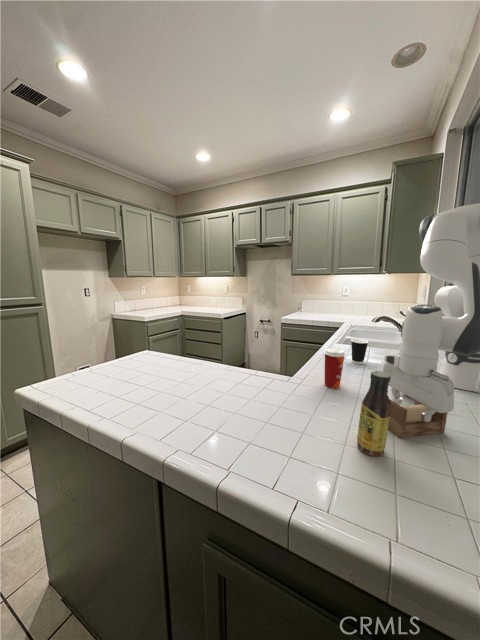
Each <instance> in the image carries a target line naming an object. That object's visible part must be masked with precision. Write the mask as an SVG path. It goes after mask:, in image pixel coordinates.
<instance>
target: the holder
mask: <svg viewBox="0 0 480 640" xmlns="http://www.w3.org/2000/svg"><path fill="white" fill-rule="evenodd" d="M390 401H391V409H390V419H389V426H388V431H389V432H390V433H391V434H393V435H395V436H396V437H397V438H398V439H400V440H401V439H408V438H414V437H421V436H429V435H435V434H444V433H445V431H446V425H447V417H448V412H447V413H439V412H437V411H436V412H435V413H434V414H433V415H432V416H431V421H430V422H423V423H415V424H407V425H405V424H406V417H407V409H405V408H403V407H402V406H403V405H402V406H401V404H399V405H398V404H397V403H395V402H393V400H391V399H390ZM420 404H422V403H420V402H418V401H416V400H414V405H420ZM422 405H424V404H422ZM425 406H426V405H425Z"/></svg>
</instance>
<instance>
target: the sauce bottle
mask: <svg viewBox="0 0 480 640" xmlns="http://www.w3.org/2000/svg"><path fill="white" fill-rule="evenodd" d="M370 372H371V373H370V384H369V388H368V391H367V392H366V394H365V396H364V398H363V399H362V402H361V407H360V413H359V420H358V421H359V422H358V429H357V435H356V437H357V438H356V445H357V448H358V449H359V450H360V451H361V452H363V453H364V454H366V455H367V456H374V457H379V456H382V455H383V454H384V453H385V448H386V444H387V438H388V431H389V430H388V426H389V419H390V409H391V401H390V400H391V399H390V397H389V395H388V392H389V391H388V389H389V385H388V384H389V382H390V378H391V376H390V375H389V374H388V373H386V372H383V370H381V371H380V370H372V371H370Z"/></svg>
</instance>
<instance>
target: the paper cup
mask: <svg viewBox="0 0 480 640" xmlns="http://www.w3.org/2000/svg"><path fill="white" fill-rule="evenodd" d="M323 353H324V385H326V386H325V387H327V388H331V389H338V388H340V386H341V380H342V376H343V375H342V373H343V368H344V363H345V362H344V361H345V356H346V353H345V350H343V349H340V348H336V347H335V348H334V347H328V348H325V350H324V352H323Z"/></svg>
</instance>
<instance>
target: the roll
mask: <svg viewBox="0 0 480 640" xmlns="http://www.w3.org/2000/svg"><path fill="white" fill-rule="evenodd" d="M402 407H403V408H405V409H407V417H406V424H405V425H407V424H415V423H423V422H426V421H424V420H422V419H421V413H425V412H427V411H428V410H426V406H425V405H422V404H420V405H415V404H409V405H402ZM429 422H430V421H429Z"/></svg>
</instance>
